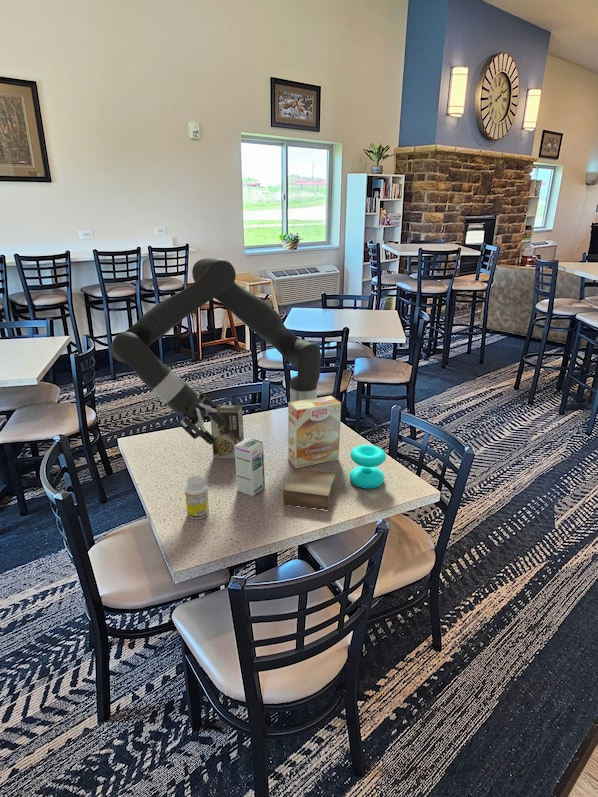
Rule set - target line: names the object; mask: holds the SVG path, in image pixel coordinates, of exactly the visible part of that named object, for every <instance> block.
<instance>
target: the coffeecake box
mask: <svg viewBox="0 0 598 797" xmlns="http://www.w3.org/2000/svg"><path fill="white" fill-rule="evenodd" d="M287 403H288V404H287V409H288V410H287V412H288V414H287V419H288V420H287V421H288V422H287V460H288V461H289V462H290V463H291V464H292V466H293V467H294V468H297V469H302V468H305V467H309V466H313V465H317V464H322V463H327V462H328V463H329V462H331V461H332V462H333V461H337V460H339V459H340V456H339V455H340V436H341V435H340V432H341V415H342V414H341V412H342V402H341V401H339V400H338V399H336V398H335V397H334V396H332V395H328V396H320V397H317V398H313V399H307V400H300V401H294V402H290V401H289V402H287Z"/></svg>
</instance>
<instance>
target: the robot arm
mask: <svg viewBox="0 0 598 797" xmlns="http://www.w3.org/2000/svg"><path fill="white" fill-rule="evenodd" d="M191 270H192V271H191V272H192V279H193V283H192V284H190V285H188V287H186V288H184V289H182V290H181V291H179V292H177V293H175V294H173V295H172V296H169V297H167V298H165V299H164V300H162V301H160V302H159V303H157V304H156V305H154V306H153V307H152V308H151V309H149V310H148V311H147V312H145V313H144V314H143V315H142V316H141V317H139V319H138V320H137V321H136V322H135V324H133V325H131V327H129V328H127V330H125V331H123V332H120V333H118V334H117V335H116V336H115V337H114V338H113V340H112V342H111V344H110V353H111V356H112V357H113V359H115V360H116V361H118V362H120V363H126V364H127V365H128V366H129V367H130V368H131V369H132V370H133V371H134V372H135V373H136V375H137V377H138V379H140V380H141V382H142V383H144V384H145V385H146V386H147V387H148V388H149V389H150V390H151V391H152V392H153V393H154V394H155V395H156V396H157V397H158V398H159V399H160V400H161V401H162V402H163V403H164V404H165V405H166V406H167V407H169V408H170V410H172V411H173V412H174V413H175V414H177V415H182V417H183V418H182V420H180V421H179V423H178V425H179V426H180V427H181V428H182V429H183V430H184V431H185V432H186V433H187V434H189V435H190V437H191V438H192V439H194V440H195V439H197V438H201V439H203V441H205V442H206V444H209V445H213V443H214V442H215V441H216V438H214V437H213V436H212V433H210V432H209V431H208V430H206V427H205V425H204V423H205V422H204V418H205V417H209V418H210V417H211V419H212V420H213V421H215V422H216V423H217V424H218V425H219V426H222V425H224V424H225V422H226V421H225V420H224V419H223V418H222V417H221V416H220V415H219V414H218V413H217V410H216V408H217V405H218V404H217V403H215V402H214V401H213V399H211V398H210V397H208V395H207V394H205V393H204V392H200V393H199V394H197V392H196V391H195V390H194V389H193V388H192V387H191V386H189V385H188V383H186V382H185V381H184V380H183V379H182V378H181V377H180V376H179V375H178V374H176V373H175V372H173V371H172V370H171V369H170V367H168V366H167V365H166V364H164V362H162V360H160V359H159V358H158V357H157V356H156V355H155V354H154V352H153V350H151V348H150V346H151V345H152V344H153V343H154V342H155V341H158V340H159V339H161V338H162V337H163V336H164V335H165V334H167V333H169V331H170V330H172V329H173V328H174V327H175V326H176V325H178V324H179V323H180V322H182V321H183V320H184V319H185V318H187V317H188V316H189V315H190V314H192V313H194V311H197V310H198V309H199V308H201V307H202V306H204V305H205V304H207V303H208V302H210V301H212V300H214V299H215V300H216V301H218V302H220V303H221V304H222V305H224V307H226V308H227V309H228V310H229V311H230V312H231V314H233V315H234V316H235V317H236V318H238V319H239V320H240V321H242V323H243V324H244V325H245V326H246V327H248V328H249V329H250V330H251V331H253V332H254V333H255V334H257V335H258V336H259V337H260V338H261V339H263V340H264V341H265V342H267V343H268V344H270V345H271V346H273V347H274V348H275V349H276V350H277V351H278V352H279V353H280V354H281V356H283V358H284V359H285V360H286V362H288V363H289V364H290V365H292V366H294V367H297V375H295V376H293V377H291V378H290V379H289V380H290V382H289V395H290V396H289V397H290V398H289V402H294V401H300V400H307V399H313V398H318V383H319V379H320V377H321V366H322V365H321V363H322V354H321V349H320V346H318V345H317V344H316V343H314V342H311V341H308V340H304V339H302V338H301V337H298V336H297V335H295V334H294V333H293V332H291V331H290V330H289V329H288V328H287V327H286V326H285V324H284V321H283V319H282V317H281V315H280V314H279V313H278V312H277V311H276V310H275V309H274V308H273V307H272V306H271V305H270V304H269V303H268V302H267V301H265V300H264V299H263V298H261V297H259V296H258V295H256V294H254V293H253V292H251V291H248V290H247V289H245V288H243V287H241V286H240V285H239V284H238V283H236V282H235V281H236V278H237V277H236V275H237V273H236V269H235V267H234V266H233V264H232V263H231V262H230V261H229V260H227V259H224V258H217V257H216V258H215V257H205V258H201V259H199V260H198V261H196V262H195V263H194V264H193V267H192V269H191ZM211 419H210V420H211Z"/></svg>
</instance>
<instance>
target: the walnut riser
mask: <svg viewBox="0 0 598 797" xmlns="http://www.w3.org/2000/svg"><path fill="white" fill-rule="evenodd" d="M336 477H337V475H336V473H335V472H329V471H328V472H327V471H320V470H313V469H312V470H310V469H304V468H296V467H294V468H293V469H292V471H291V474H290V476H289V477H288V480H287V482H286V484H285V486H284V488H283V506H287V505H291V506H290V507H294V506H300V507H299V508H301V507H306V508H305V509H309V508H316V509H324V510H328V511H329V508H330V505H331V501H332V499H333V495H334V492H335V489H336ZM328 507H329V508H328ZM316 509H315V510H316Z"/></svg>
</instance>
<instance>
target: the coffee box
mask: <svg viewBox="0 0 598 797" xmlns="http://www.w3.org/2000/svg"><path fill="white" fill-rule="evenodd" d="M216 405H217V408H216V410H217V413H218V414H219V415H220V416H221V417H222V418H223V419H224V420H225V421H226V422H225V424H224V425H222V426H219V425H218V424H217V423H216V422H215V421H213V420H212V419H211V417H209V419H210V427H211V428H210V429H211V435H212V436H213V437H214V438H216V441H215V442H214V443H213V444H212V454H213V459H224V460H225V459H232V460H235V447H234V446H235V445H236V444H238V443H240V442H241V441H243V440H245V439H244V438H245V436H244V434H245V433H244V419H243V418H244V417H243V416H244V415H243V405H241V404H216Z"/></svg>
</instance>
